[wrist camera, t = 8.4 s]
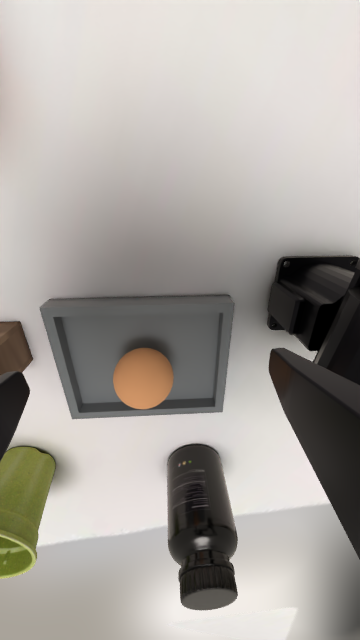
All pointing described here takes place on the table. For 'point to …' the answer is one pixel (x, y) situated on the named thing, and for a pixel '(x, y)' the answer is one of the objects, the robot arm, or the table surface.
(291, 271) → the robot arm
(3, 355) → the brown wooden open cube
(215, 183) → the table surface
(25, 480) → the plant pot
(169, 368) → the ball
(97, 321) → the tray
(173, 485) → the supplement bottle
